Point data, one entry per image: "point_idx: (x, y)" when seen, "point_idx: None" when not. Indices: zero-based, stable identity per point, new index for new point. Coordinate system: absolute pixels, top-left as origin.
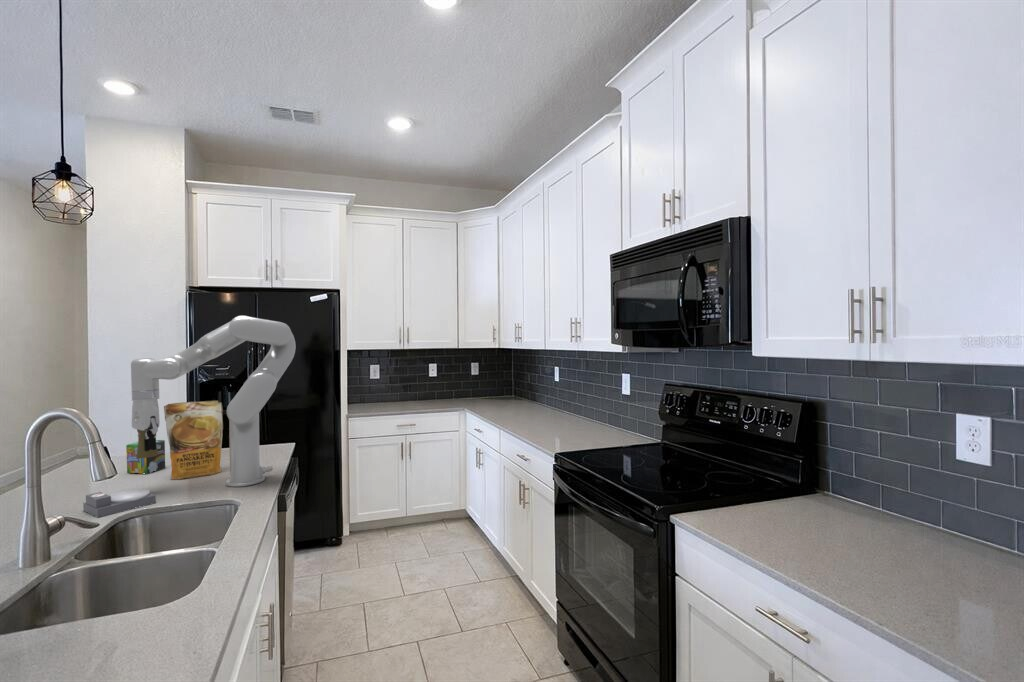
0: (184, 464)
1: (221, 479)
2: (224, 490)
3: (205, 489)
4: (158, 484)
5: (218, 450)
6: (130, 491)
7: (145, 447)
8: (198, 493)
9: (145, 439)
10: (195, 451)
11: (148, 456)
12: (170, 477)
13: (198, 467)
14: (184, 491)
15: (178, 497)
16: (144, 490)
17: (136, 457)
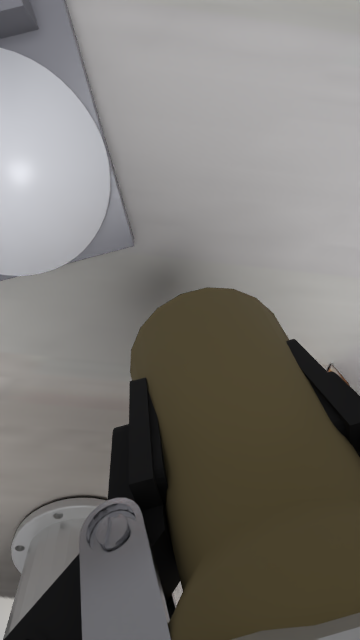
0: None
1: None
2: (7, 486)
3: (71, 443)
4: (299, 322)
5: None
6: (59, 194)
7: (131, 405)
8: (26, 420)
9: (132, 489)
10: None
11: (130, 369)
12: (335, 370)
13: None
14: (97, 386)
15: (12, 360)
16: (31, 257)
17: (206, 288)
